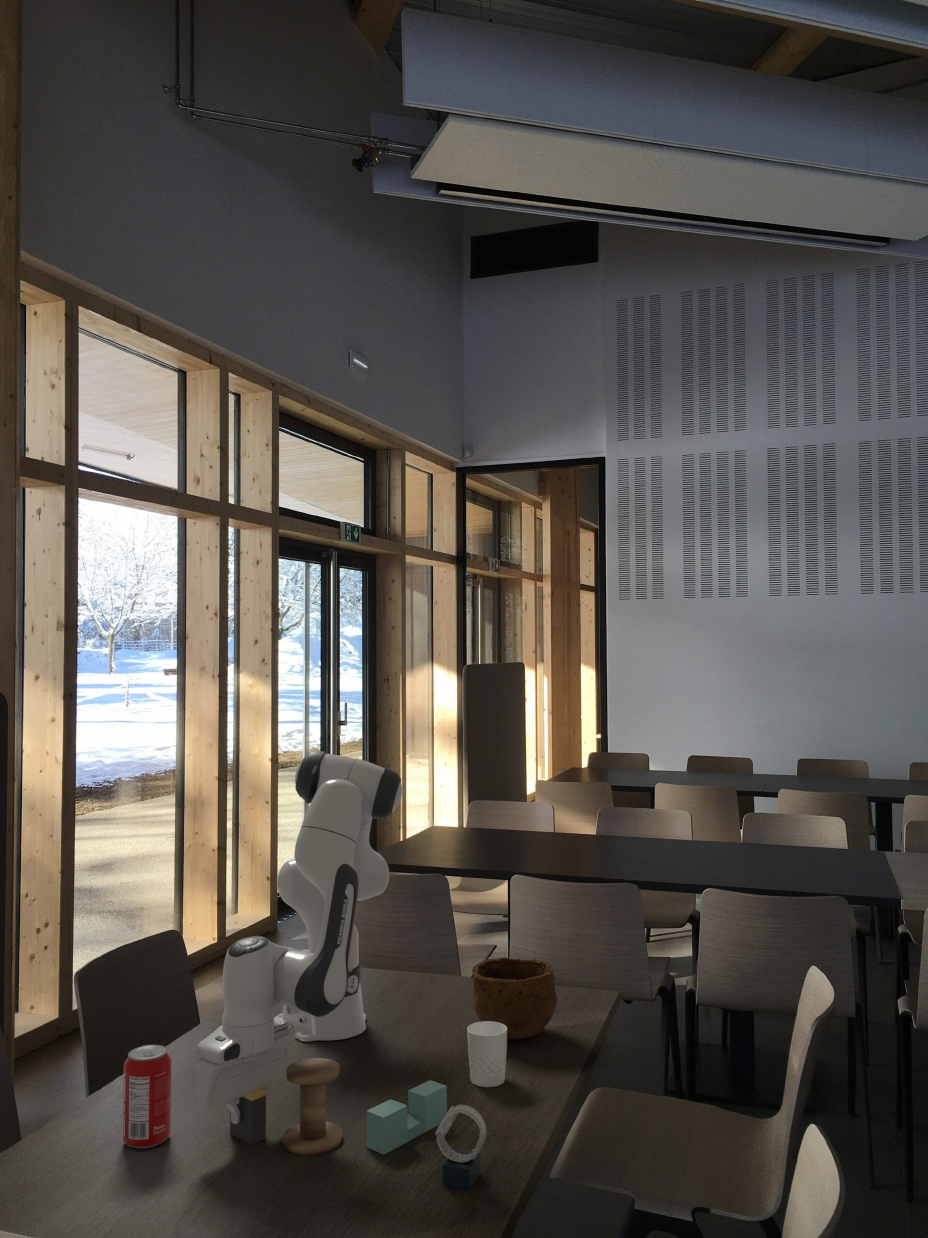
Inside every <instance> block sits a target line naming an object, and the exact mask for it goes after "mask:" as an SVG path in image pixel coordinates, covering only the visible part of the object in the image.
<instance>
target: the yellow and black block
mask: <svg viewBox="0 0 928 1238" xmlns="http://www.w3.org/2000/svg"><path fill="white" fill-rule="evenodd" d="M236 1105H237V1107H238V1109H240V1110H242V1111H244V1121H242V1122H240V1123H238V1124H234V1123H232V1122H231V1112H230V1111H229V1135H230V1136H233V1137H235V1138H237V1139H239V1140H241V1141H243V1142H245V1143H247V1144H250V1145H251V1146H252V1145H254V1144H256V1143H259V1142H261V1141H262V1140H264V1139H267V1136H266V1135H267V1099H266V1090H264V1089H262V1088H261V1089H258V1090H256V1091H253V1092H251V1093H249V1094H247V1095H245V1096H242V1097H240V1098H239V1104H236Z"/></svg>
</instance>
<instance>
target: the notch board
mask: <svg viewBox="0 0 928 1238" xmlns="http://www.w3.org/2000/svg"><path fill="white" fill-rule="evenodd" d="M447 1089H448V1087H447V1085H446V1084H443V1083H440V1082H436V1081H434V1080H431V1079H429V1080H427V1081H426V1082H423V1083H421V1084H419V1085H417V1086H415V1087H412V1088H411V1089H408V1091H407V1092H408V1093H407V1094H408V1095H407V1098H408V1100H407V1102H408V1105H407V1104H405V1103H402V1102H399V1101H396V1100H393V1099H388V1100H385V1101H384V1102H381V1103H380V1104H377V1105H376V1106H374V1107H372V1108H369V1109H367V1110H366V1148H367V1149H369V1150H372V1151H374V1152H377V1153H378V1154H381V1155H386V1154H388V1153H390V1152H392V1151H393V1150H396V1149H397V1148H399V1147H401V1146H403V1145H405V1144H407V1143H408V1142H410V1141H413V1139H416V1138H417V1137H420V1136H422V1135H423V1134H425V1133H426V1132H429V1131H431V1130H432V1129H434V1128H435V1127H438V1126H439V1124H440V1123H441V1121H442V1119H443V1118H444V1116H445V1115H446V1113H447V1112H448V1097H447V1096H448V1093H447V1091H448V1090H447Z"/></svg>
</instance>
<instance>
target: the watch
mask: <svg viewBox="0 0 928 1238" xmlns="http://www.w3.org/2000/svg"><path fill="white" fill-rule="evenodd" d="M459 1113H460V1114H463V1115H466V1116H468V1117H469V1118H471V1119H473V1120H474V1122H475V1123H476V1125H478V1126H477V1127H478V1129H479V1134H478V1135H479V1136H478V1139H477V1142H476V1145H475V1148H473V1149H472V1150H471V1151H469V1150H466V1149H465V1150H463V1149H457V1148H453V1149H452V1148H451V1146H450V1145H449V1144H448V1142H447V1140H446V1138H445V1137H446V1136H447V1134H448V1133H449V1131H450V1130H451V1128H452V1126H453V1124H454V1122H455V1121H456V1119H457V1117H458V1115H459ZM434 1134H435V1136H436V1143H437V1146H438V1147H439V1150H440V1152H441V1153H442V1154H443V1155H444V1156H445V1157H446V1158H447V1159H446V1160H445V1162H444V1163H443V1164H442V1187H446V1188H452V1189H457V1190H458V1189H459V1190H464V1191H470V1190H471V1189H472V1188H473V1185H474V1184H475V1182H476V1180H477V1178H478V1177H479V1175H480V1174H481V1152H480V1151H481V1148H482V1147H483V1145H484V1143H485V1140H486V1137H487V1135H488V1134H487V1125H486V1122H485V1120H484V1117H483V1115H482V1114H481V1113H480V1112H479V1111H478V1110H477V1109H475V1107H473V1106H470V1105H467V1104H457V1105H455V1106H453V1105H452V1106H450V1108H449V1109H447V1113H446V1115H445V1116H444V1118H443V1119H442V1121H441V1123H440V1124H439V1125H438V1126H437V1129H436V1131H435V1133H434Z"/></svg>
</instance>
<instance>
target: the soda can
mask: <svg viewBox="0 0 928 1238" xmlns="http://www.w3.org/2000/svg"><path fill="white" fill-rule="evenodd" d="M168 1050H169V1049H168V1048H167V1047H166V1046H165V1045H161V1044H147V1045H142V1046H138V1047H135V1048H133V1049H132V1050H130V1051H129V1052H128V1053H127V1058H126V1060H125V1061H124V1063H123V1082H122V1083H123V1084H122V1086H123V1087H122V1088H123V1090H122V1091H123V1093H122V1095H123V1096H122V1100H123V1101H122V1105H123V1106H122V1142H123V1143H124V1144H125V1145H126V1146H127V1147H131V1148H133V1149H136V1150H137V1149H138V1150H147V1149H151V1148H155V1147H157V1146H159V1145H161V1144H162V1143H164V1142H165V1141H166V1140H168V1138H169V1137H170V1136H171V1133H172V1071H173V1069H172V1067H173V1066H172V1061H173V1060H172V1057H171V1055H170V1054H169V1052H168Z"/></svg>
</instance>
